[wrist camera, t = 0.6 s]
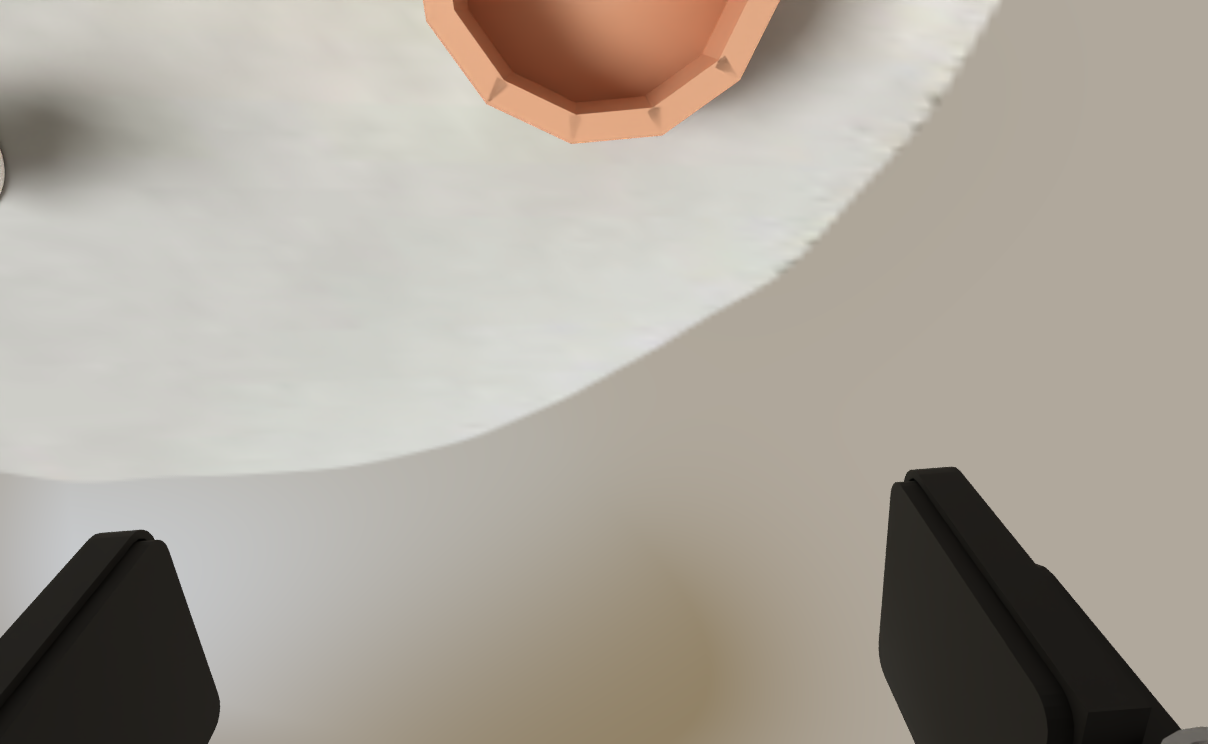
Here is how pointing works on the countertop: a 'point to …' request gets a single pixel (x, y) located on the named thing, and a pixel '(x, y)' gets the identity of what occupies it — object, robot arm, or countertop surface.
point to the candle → (1, 171)
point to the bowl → (600, 58)
